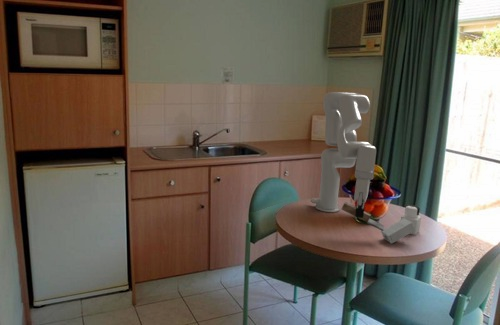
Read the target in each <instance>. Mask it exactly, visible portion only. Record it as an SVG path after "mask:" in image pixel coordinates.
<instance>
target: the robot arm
mask: <svg viewBox="0 0 500 325" xmlns="http://www.w3.org/2000/svg"><path fill="white" fill-rule="evenodd" d="M322 106H323V112H324V117H325V123H324V124H325V125H324V126H325V127H324V129H325V130H324V141H325V144H326V145H327V146H329V147H330V146H331V147H337V148H326V149H324V150H323V151H322V152H321V155H320V163H321V174H320V175H321V176H320V186H319V195H318V197H319V198H310V202H311V203H312V204H315V206H314V207H315V209H317V210H318V211H321V212H323V213H324V212H325V213H337V212H340V211H341V207H340V206H339V205H338V202H339V191H340V190H339V189H340V180H341V179H340V178H341V176H340V175H341V174H340V173H339V171H338V170H337V168H338V169H339V168H345V169H346V168H348V169H349V168H353V167H355V171H354V177H355V178H356V182H355V188H354V196H353V201H354V202H356V207H357V208H356V215H355V216H354V217H355V218H358V217H359V218H358V219H360V218H363V214H364V211H365V210H366V209H365V208H366V207H365V203H366V202H367V198H368V195H369V189H370V183H371V180H373V179H374V173H375V164H376V158H377V157H376V156H377V148H376V146H374V145H373V144H371V143H369V142H367V141H358V135H357V131H356V130H357V129H359V128H360V127H361V126H362V124H363V121H362V116H361V114H367V113H368V112H369V111H370V109H371V103H370V100H369V97H368V96H367V95H364V94H362V93H358V92H343V91H331V92H328V93H327V92H326V93H325V95H324V97H323V101H322Z"/></svg>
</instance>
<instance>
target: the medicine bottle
mask: <svg viewBox="0 0 500 325" xmlns="http://www.w3.org/2000/svg"><path fill="white" fill-rule="evenodd" d="M420 210H421V209H420V207H419V206H418V205H414V204H408V205H406V206H405V209H404V214H403V215H402V216H400V220H402V219H403V218H405V219H406V220H409V221H410V222H412V224H413V227H414V229H415V231H413V232H411V233H409V234H411V235H413V236H416V235H417V234H418V233H419V232H420V229H421V223H422V216H420ZM409 234H408V235H409Z"/></svg>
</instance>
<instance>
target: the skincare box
mask: <svg viewBox="0 0 500 325" xmlns="http://www.w3.org/2000/svg"><path fill="white" fill-rule="evenodd" d="M413 231H415V229H414V227H413V224H412V222H410V221H409V220H406V219H405V218H403V219H402V220H401V219H400V220H398V221H397V222H394V223H393V224H392V225H390V226H388V227H386V228H384V230H383V231H381V230H380V233H381V235H382V237H383V239H384V240H385V241H387V242H388V243H389V244H391V245H392V244H393V243H395V242H397V241H399V240H400V239H402V238H405V237H406V236H408V235H409V233H411V232H413Z"/></svg>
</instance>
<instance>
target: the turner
mask: <svg viewBox="0 0 500 325" xmlns="http://www.w3.org/2000/svg"><path fill="white" fill-rule="evenodd" d="M356 208H357V206H355V205H352V204H351V203H348V202H346V201H344V203H343V204H342V207H341V210H342V211H344V212H346V213H348V214H350V215H352V216H353V217H355V215H356ZM371 216H372V214H371V213H368V212H366V210H364V214H363V218H359V217H357V218H358V219H359V220H362V221H364V222H366V223H367V224H368V225H369V226H372V227H374V228H375V229H377V230H380V232H381V231H383V230H384V229H385V225H384V224H381V223H380V222H378V221H376V220H374V219H373V218H372V219H371Z"/></svg>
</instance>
